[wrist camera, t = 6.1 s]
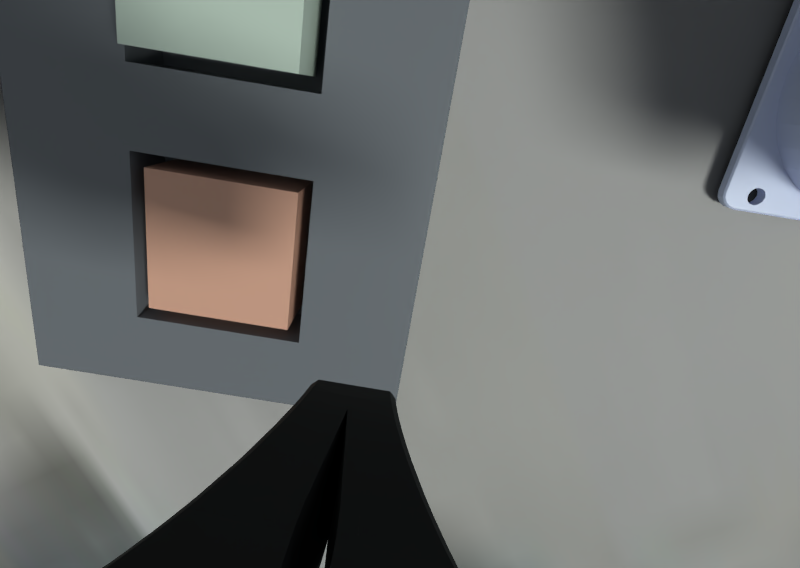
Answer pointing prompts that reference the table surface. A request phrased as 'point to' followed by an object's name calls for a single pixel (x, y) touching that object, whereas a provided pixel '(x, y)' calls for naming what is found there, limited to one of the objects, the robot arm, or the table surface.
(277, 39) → the sage key
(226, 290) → the terracotta key
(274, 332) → the keypad
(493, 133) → the table surface
